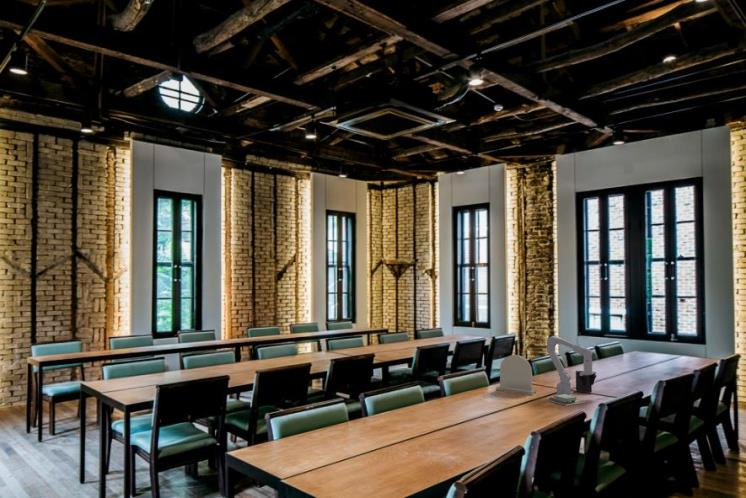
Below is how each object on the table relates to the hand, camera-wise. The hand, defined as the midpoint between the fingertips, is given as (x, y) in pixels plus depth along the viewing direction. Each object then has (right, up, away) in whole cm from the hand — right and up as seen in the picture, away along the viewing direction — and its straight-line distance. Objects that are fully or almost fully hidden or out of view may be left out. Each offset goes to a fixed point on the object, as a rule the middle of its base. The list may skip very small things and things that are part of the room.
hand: (588, 385), depth 373 cm
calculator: (+6, -11, +23) cm, 26 cm away
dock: (-20, -8, -13) cm, 26 cm away
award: (-47, -10, +18) cm, 52 cm away
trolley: (-22, -8, -14) cm, 27 cm away
